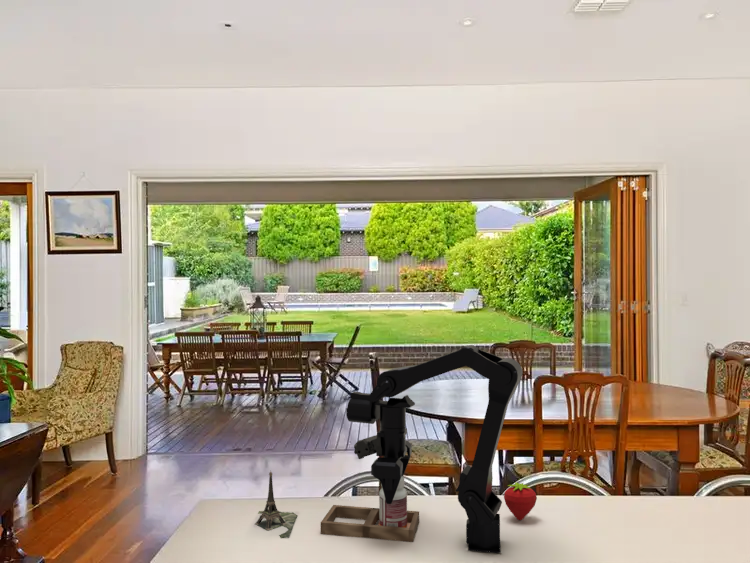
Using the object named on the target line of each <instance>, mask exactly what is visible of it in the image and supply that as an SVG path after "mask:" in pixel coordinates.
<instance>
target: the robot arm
mask: <svg viewBox="0 0 750 563" xmlns="http://www.w3.org/2000/svg"><path fill="white" fill-rule="evenodd" d="M463 367H468V368H469V369H471V370H473V371H474V372H476V373H477V374H479V375H480V376H482V377H483V378H486V379H488V384H487V385H488V388H487V390H488V403H487V407H486V411H485V415H484V418H483V423H482V426H481V430H480V433H479V434H480V435H479V438H478V441H477V445H476V448H475V449H476V450H475V454H474V457H473V461H472V464H471V465H469V464H466V466H465V467H464V468H463V469H462V471H460V474H459V481H458V482H459V483H458V486H457V488H456V489H455V492H458V493H457V501H458V502H459V504H460V506H461V507H462V508H463V509H464V511H465V513H466V517H467V519H466V525H465V526H466V529H465V531H466V532H465V538H466V539H465V540H466V541H465V544H467V545H468V546H467V549H468V551H470V552H471V551H472V552H482V553H494V554H501V552H502V548H501V547H502V545H501V516H500V515H501V514H500V513H498V512H499V511H500V509H501V506H502V504H503V501H502V499H500V497H499V496H498V495H497V494H496V493H495V492H494V491H493V490H492V489H493V463H494V460H495V455H496V454H497V449H498V446H499V445H498V444H499V441H500V438H501V433H502V429H503V425H504V422H505V418H506V415H507V409H508V406H509V403H510V401H511V400H512V398H513V396H514V394H515V391H516V390H517V388H518V386H519V384H520V382H521V380H522V378H523V373H524V372H523V367H522V366H521V364H520V363H519V362H518V360H515V359H514V358H507V357H506V358H503V357H500V356H498V355H496V354H493V353H490V352H487V351H485V350H482V349H480V348H478V347H477V346H475V345H472V344H470V345H466V346H464V347H461V348H460V349H458V350H456V351H453V352H450V353H448V354H444V355H441V356H439V357H436V358H434V359H431V360H428V361H425V362H422V363H419V364H416V365H415V364H414V365H407V366H399V367H394V368H391V369H388V370H385V371H383V372H381V373H380V374H379V375H378V376H377V380H376V385H375V387H374V388H373V389H372V391H371V392H370V393H365V392H361V391H353V392H351V393H350V398H349V400H348V403H347V407H346V411H345V413H346V419H347V420H348V422H350V423H359V424H360V423H361V424H370V425H374V424H375V423H376V421H378V420H379V430H378V432H376V435H372V436H369V437H365V438H362V439H359V440H358V441H356V442H355V444H354V445H353V448H354V451H353V452H354V454H355V455H357V459H359V460H362V459H364V457H368V456H371V455H374V454H375V456H376V457H377V458H376V459H374V461H373V462H372V464H371V465H370V466H371V467H370V475H371V476H373V477H374V478H375V479H377V480H378V481H379V482H380V485H381V484H382V486H381V489H382V488H383V492H384V496H385V500H386V503H387V504H392V501H393V499H394V496H395V493H396V490H397V488H398V485H399V482H400V479H401V477H402V476H403V477H404V475H405V472H406V470H407V467H408V464H409V462H410V459H411V456H412V452H413V447H412V446H413V445H412V443H411V442H409V440H406V435H407V434H408V428H407V426H406V425H407V424H406V417H407V416H406V413H407V412H406V411H407V409H410V408H412V407H413V406H415V405H416V402H415V401H414V400H412V399H411V398H410V396H409V395H408V394H406V395H404V396H402V397H400V398H399V397H395V396H398V395H399V394H402V393H403V392H405V391H407V390H409V389H411V388H413V387H414V386H417V384H419V383H420V382H421V383H422V382H423V381H426V380H430V379H432V378H434V377H437V376H440V375H443V374H447V373H448V372H451V371H455V370H458V369H460V368H463ZM385 398H388V400H382V399H385Z"/></svg>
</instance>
